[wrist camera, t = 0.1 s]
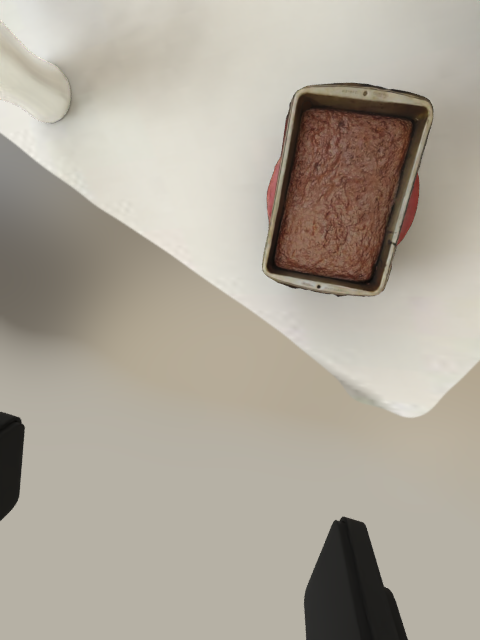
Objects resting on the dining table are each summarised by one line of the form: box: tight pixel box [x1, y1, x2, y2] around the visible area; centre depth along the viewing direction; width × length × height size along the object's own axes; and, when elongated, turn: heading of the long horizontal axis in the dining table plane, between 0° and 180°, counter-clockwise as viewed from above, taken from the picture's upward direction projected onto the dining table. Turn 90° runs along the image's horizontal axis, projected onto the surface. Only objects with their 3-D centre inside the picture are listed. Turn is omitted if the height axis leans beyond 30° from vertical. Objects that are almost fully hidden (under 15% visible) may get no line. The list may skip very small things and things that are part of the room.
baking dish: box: [262, 83, 433, 297], centre depth 32 cm, size 14×18×10 cm
